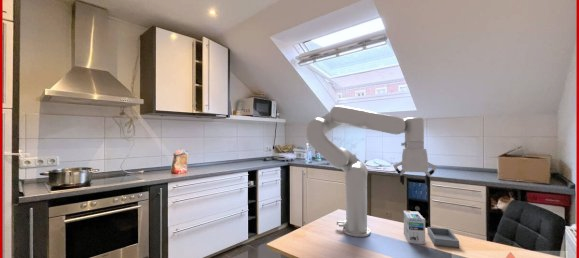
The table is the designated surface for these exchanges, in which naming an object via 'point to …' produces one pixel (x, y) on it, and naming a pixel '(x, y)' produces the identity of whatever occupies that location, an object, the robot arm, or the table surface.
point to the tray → (442, 237)
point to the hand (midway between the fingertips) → (414, 184)
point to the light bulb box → (414, 227)
